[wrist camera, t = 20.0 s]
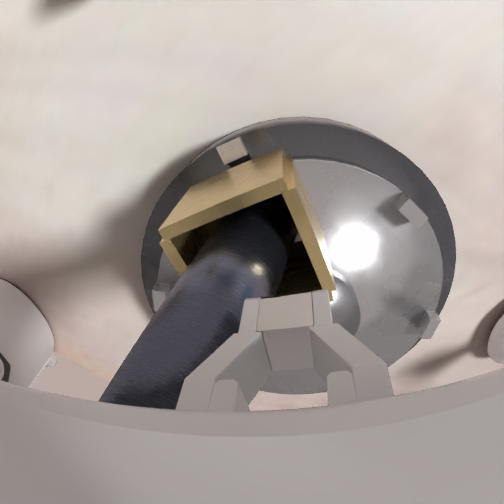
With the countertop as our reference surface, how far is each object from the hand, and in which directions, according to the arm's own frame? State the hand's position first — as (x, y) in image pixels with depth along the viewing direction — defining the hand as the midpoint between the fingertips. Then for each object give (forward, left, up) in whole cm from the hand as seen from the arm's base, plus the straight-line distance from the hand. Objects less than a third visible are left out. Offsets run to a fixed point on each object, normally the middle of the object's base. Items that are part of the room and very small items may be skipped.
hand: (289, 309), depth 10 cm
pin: (-1, 0, -10) cm, 10 cm away
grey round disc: (-2, -8, -12) cm, 14 cm away
